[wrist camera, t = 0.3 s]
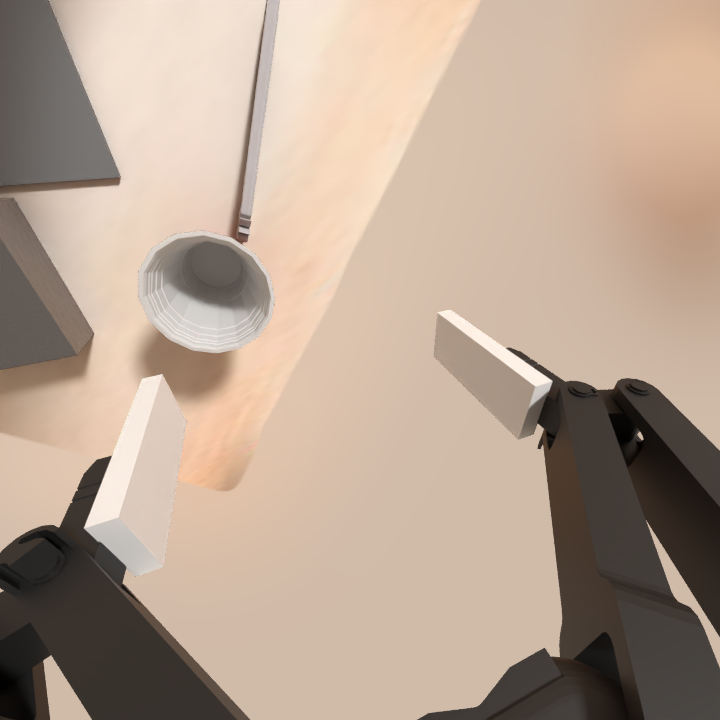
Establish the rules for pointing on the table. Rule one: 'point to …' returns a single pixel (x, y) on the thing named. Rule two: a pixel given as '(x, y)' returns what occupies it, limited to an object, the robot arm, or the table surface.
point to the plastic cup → (206, 291)
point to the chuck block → (33, 298)
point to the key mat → (44, 104)
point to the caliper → (257, 119)
